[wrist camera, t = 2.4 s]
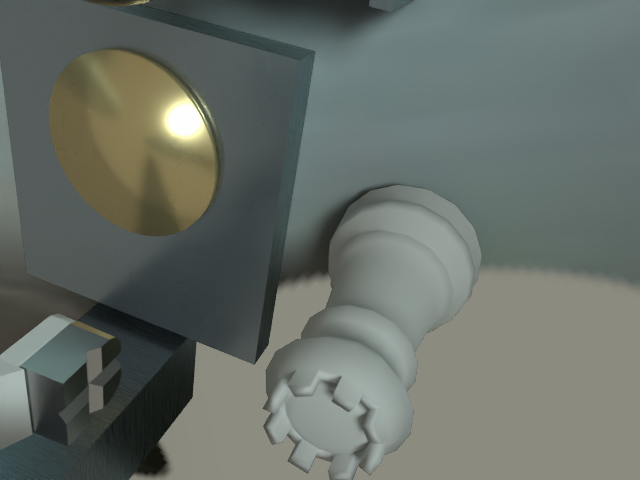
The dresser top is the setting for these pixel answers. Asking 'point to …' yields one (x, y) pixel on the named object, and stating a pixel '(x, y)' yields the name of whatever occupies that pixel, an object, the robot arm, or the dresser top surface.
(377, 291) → the rook chess piece
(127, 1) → the lever
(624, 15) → the dresser top surface
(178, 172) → the press
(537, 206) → the dresser top surface
